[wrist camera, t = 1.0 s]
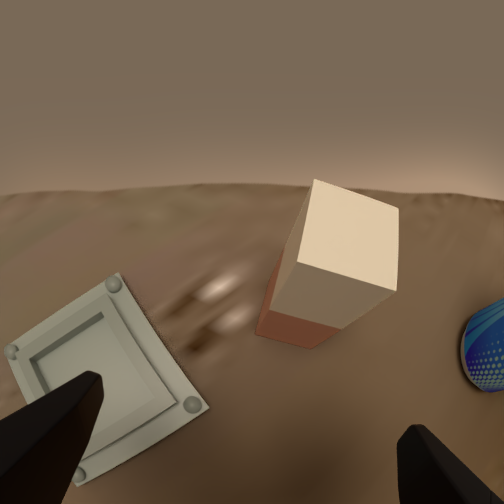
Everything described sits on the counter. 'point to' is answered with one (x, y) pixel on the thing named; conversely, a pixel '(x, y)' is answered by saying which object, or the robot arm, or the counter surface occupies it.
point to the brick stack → (331, 266)
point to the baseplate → (108, 373)
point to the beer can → (485, 348)
